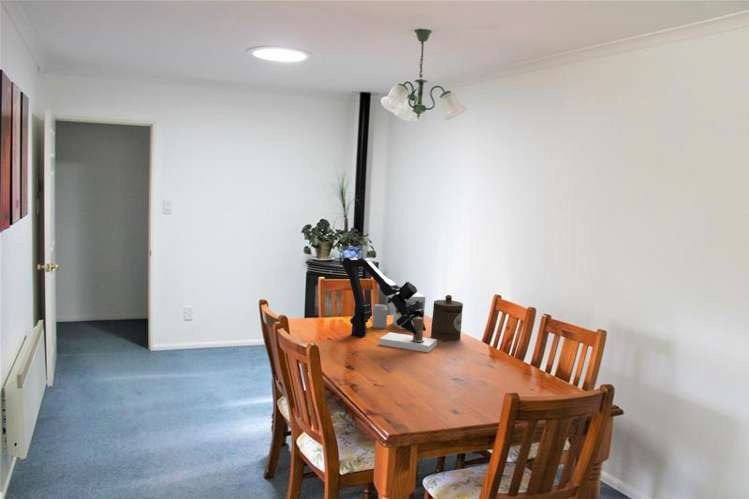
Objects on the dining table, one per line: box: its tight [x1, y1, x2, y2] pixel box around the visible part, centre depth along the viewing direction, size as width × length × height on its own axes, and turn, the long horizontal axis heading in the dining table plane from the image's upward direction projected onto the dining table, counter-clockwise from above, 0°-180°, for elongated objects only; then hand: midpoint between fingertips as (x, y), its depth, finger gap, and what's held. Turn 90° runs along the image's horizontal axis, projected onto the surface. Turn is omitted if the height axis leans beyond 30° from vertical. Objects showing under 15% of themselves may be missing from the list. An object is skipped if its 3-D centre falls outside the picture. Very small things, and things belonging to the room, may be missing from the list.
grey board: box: [379, 332, 438, 353], centre depth 306 cm, size 24×14×3 cm, turn 70°
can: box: [371, 303, 388, 330], centre depth 337 cm, size 8×8×12 cm
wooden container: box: [430, 294, 464, 342], centre depth 323 cm, size 15×15×22 cm
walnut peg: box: [412, 317, 425, 343], centre depth 301 cm, size 5×5×14 cm
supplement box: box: [392, 292, 426, 330], centre depth 344 cm, size 13×13×18 cm
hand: (420, 332), depth 301 cm, fingers open, 9 cm apart
